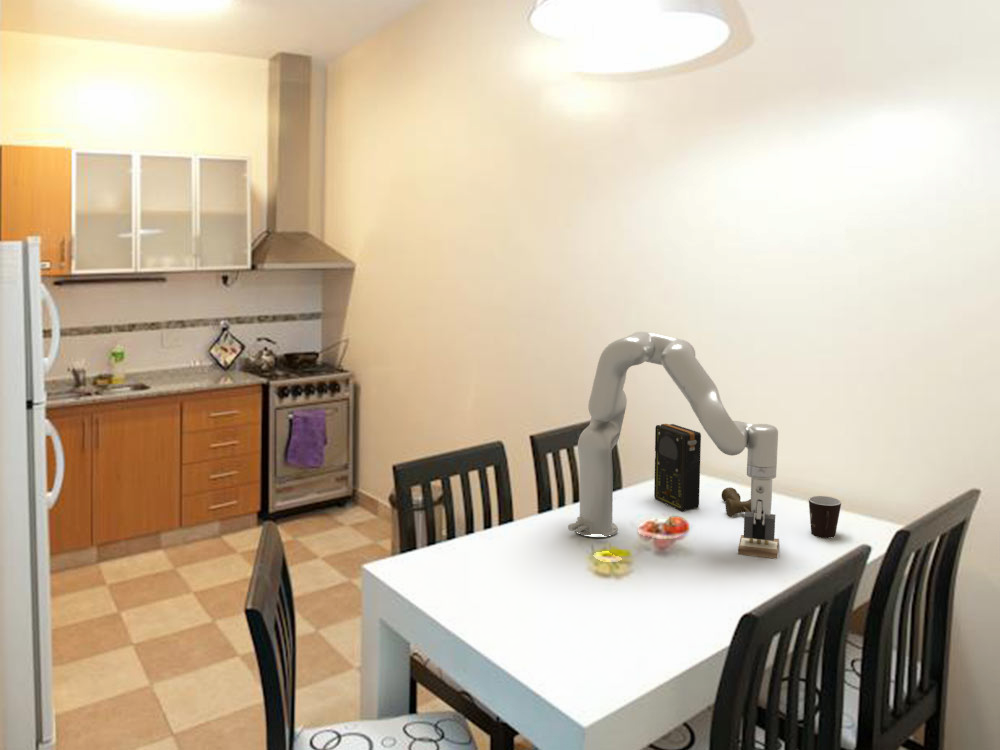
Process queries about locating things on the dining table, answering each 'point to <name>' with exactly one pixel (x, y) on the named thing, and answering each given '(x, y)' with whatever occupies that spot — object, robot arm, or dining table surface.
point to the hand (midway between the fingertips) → (758, 534)
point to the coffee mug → (824, 515)
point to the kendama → (734, 502)
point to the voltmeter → (677, 466)
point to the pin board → (758, 547)
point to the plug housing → (768, 524)
